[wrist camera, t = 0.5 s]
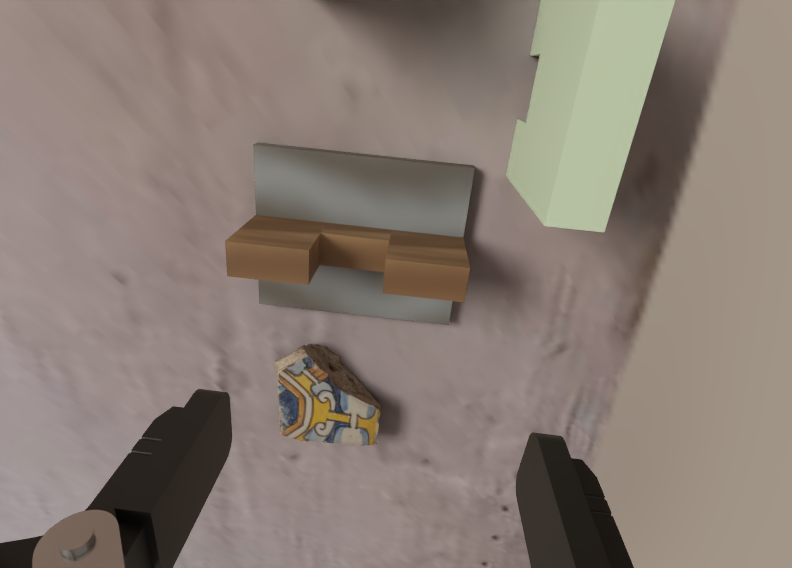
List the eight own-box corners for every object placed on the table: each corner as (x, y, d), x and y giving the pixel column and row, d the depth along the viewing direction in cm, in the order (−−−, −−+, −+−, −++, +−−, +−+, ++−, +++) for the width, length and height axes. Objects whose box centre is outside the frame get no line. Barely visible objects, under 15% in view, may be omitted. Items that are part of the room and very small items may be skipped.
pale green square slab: (543, -16, 29) (616, -69, 18) (591, -11, 29) (693, -61, 18) (506, 176, 34) (544, 226, 23) (546, 180, 34) (604, 232, 23)
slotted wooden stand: (258, 142, 34) (219, 159, 27) (473, 165, 33) (484, 187, 27) (263, 298, 39) (232, 342, 33) (448, 318, 39) (452, 366, 33)
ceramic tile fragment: (407, 414, 40) (346, 480, 44) (408, 391, 43) (352, 454, 47) (289, 343, 38) (236, 418, 41) (299, 324, 41) (249, 396, 44)
